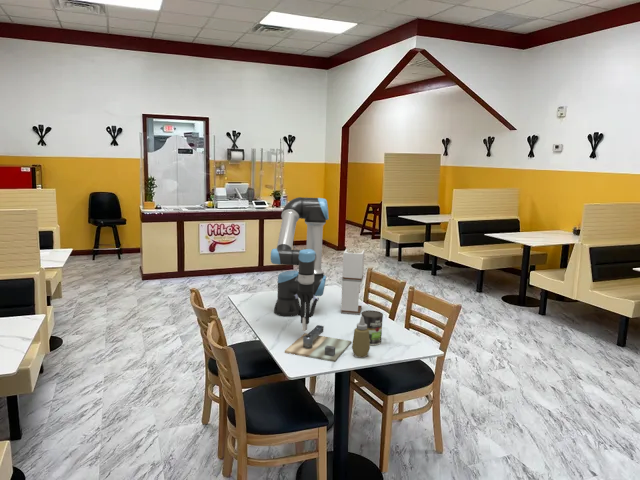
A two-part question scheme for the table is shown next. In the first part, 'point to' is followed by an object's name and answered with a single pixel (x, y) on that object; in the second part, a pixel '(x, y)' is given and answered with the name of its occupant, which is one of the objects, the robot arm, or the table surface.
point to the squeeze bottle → (361, 339)
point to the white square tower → (352, 282)
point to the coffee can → (373, 325)
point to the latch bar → (312, 336)
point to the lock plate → (320, 348)
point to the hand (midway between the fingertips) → (304, 330)
